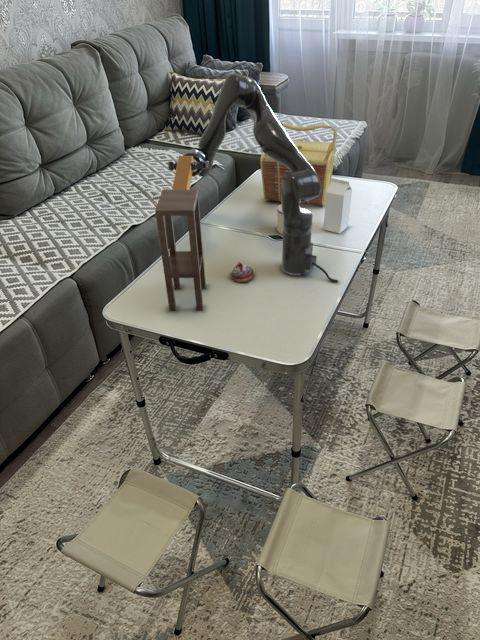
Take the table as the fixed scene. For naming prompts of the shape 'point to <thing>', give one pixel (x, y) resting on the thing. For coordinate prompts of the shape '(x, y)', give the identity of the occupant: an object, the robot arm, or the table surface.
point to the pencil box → (183, 173)
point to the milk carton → (337, 205)
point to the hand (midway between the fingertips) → (184, 166)
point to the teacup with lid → (280, 219)
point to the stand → (178, 261)
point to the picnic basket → (314, 154)
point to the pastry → (242, 273)
